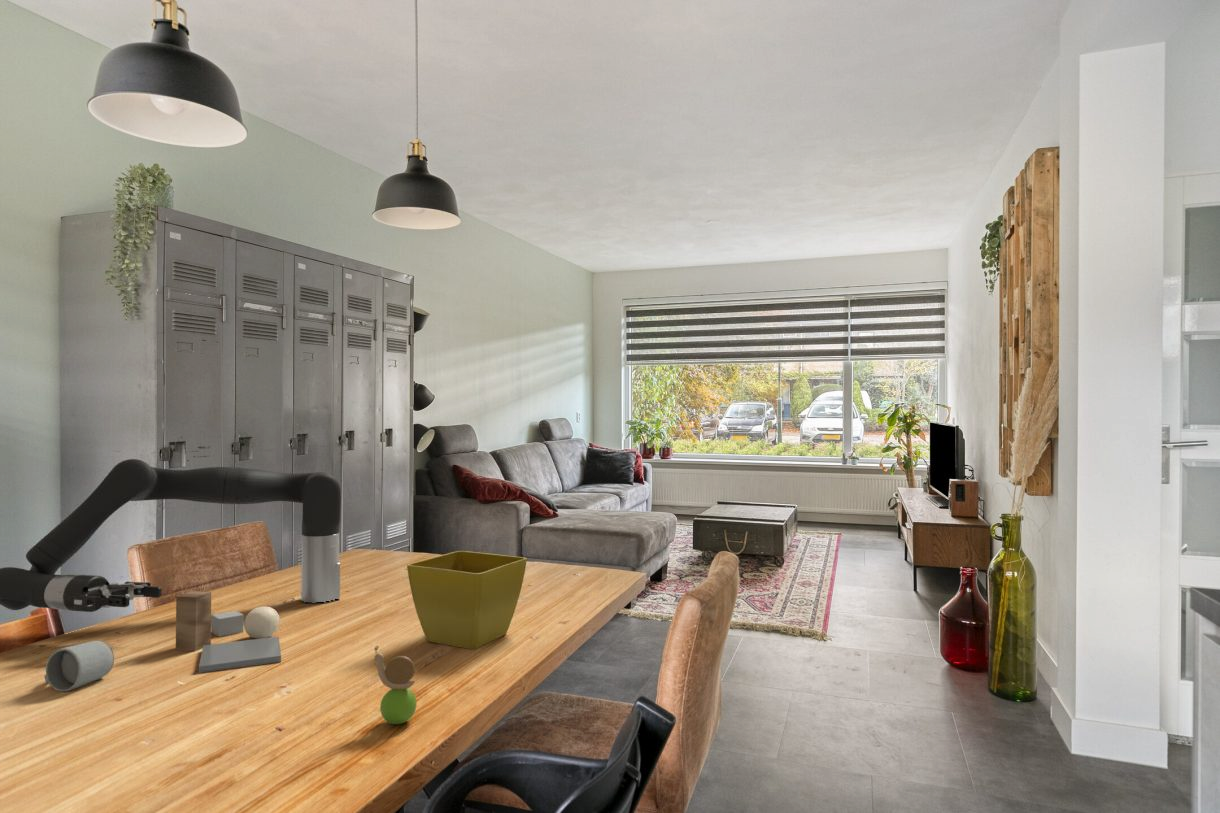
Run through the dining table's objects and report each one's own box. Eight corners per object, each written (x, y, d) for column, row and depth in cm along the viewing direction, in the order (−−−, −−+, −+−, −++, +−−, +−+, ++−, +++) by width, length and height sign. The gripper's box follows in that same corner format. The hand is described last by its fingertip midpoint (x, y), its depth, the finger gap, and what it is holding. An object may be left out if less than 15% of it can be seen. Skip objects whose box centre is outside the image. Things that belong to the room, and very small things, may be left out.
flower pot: (528, 632, 162) (528, 556, 162) (478, 657, 144) (479, 573, 145) (459, 621, 170) (459, 550, 170) (404, 644, 152) (404, 565, 153)
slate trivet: (278, 642, 154) (278, 636, 154) (281, 661, 141) (281, 655, 141) (203, 651, 148) (203, 645, 148) (198, 672, 135) (198, 666, 135)
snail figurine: (378, 716, 116) (378, 641, 116) (419, 715, 116) (419, 640, 116) (369, 731, 110) (370, 651, 110) (412, 729, 111) (413, 650, 111)
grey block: (235, 628, 165) (235, 610, 165) (243, 632, 161) (243, 614, 161) (211, 632, 161) (211, 614, 161) (219, 637, 158) (219, 619, 158)
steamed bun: (286, 633, 160) (286, 603, 160) (267, 643, 153) (268, 611, 153) (257, 632, 161) (258, 602, 161) (237, 642, 154) (238, 610, 154)
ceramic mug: (118, 677, 133) (117, 636, 133) (79, 693, 125) (78, 650, 125) (71, 674, 135) (71, 634, 135) (30, 690, 127) (30, 647, 127)
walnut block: (191, 643, 153) (192, 591, 153) (210, 644, 152) (211, 592, 152) (175, 650, 149) (176, 596, 149) (195, 651, 148) (196, 597, 148)
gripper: (47, 582, 148) (117, 586, 145) (105, 568, 162) (170, 572, 159) (45, 619, 148) (116, 623, 145) (104, 602, 162) (169, 606, 159)
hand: (144, 596), depth 152 cm, fingers open, 8 cm apart
